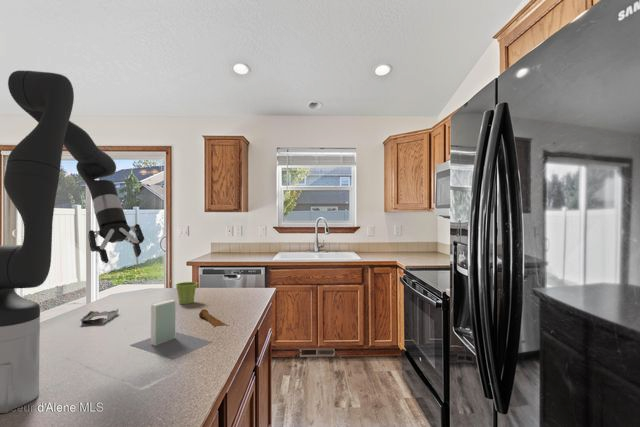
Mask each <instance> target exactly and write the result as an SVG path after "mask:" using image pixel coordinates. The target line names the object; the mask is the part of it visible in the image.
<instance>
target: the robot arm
mask: <svg viewBox="0 0 640 427" xmlns="http://www.w3.org/2000/svg"><path fill="white" fill-rule="evenodd" d="M7 87H8V90H9V91H8V92H9V93H10V96H11V98H12V99H13V100H14V101H15V103H16V104H17V105H18V106H19V107H20V108H21V109H22V110H23V111H24V112H25V113H27V114H28V115H29V116H30V117H31V118H33V119H34V120H35V121H36V122H37V125H36V126H35V127H34V128H33V129H32V130H31V131H30V132H29V133H28V134H27V135H25V137H24V138H23V139H22V140H20V141H19V142H18V143H17V144H16V146H15V147H14V148H13V149H12V150H11V151H10V153H9V155H8V157H7V162H6V164H5V166H6V167H5V172H4V177H3V188H4V189H5V192H6V194H7V196H8V197H9V199H10V201H11V203H13V205H14V207H15V208H16V210H17V211H18V212H17V213H19V216H20V217H21V220H22V222H23V223H22V224H23V241H22V244H17V245H16V244H13V245H11V244H10V245H8V244H6V245H4V244H3V245H1V244H0V414H8V413H9V412H11V411H12V410H14V409H16V408H20V407H23V406H24V405H26V404H29V403H30V402H32V401H33V400H35V399H36V398H37V397H38V396H39V395H40V357H41V356H40V354H41V353H40V352H41V351H40V349H41V348H40V344H41V343H40V340H41V338H40V335H41V332H40V331H41V306H40V303H38V302H36V301H33V300H31V299H27V298H25V297H23V296H20V295H19V294H18V293H17V292H16V290H15V289H31V288H32V289H33V288H37V287H40V286H42V285H43V284H44V283H45V281H46V280H47V278H48V277H49V273H50V269H51V266H52V265H51V263H52V253H53V252H52V248H53V245H52V244H53V222H54V213H55V204H56V198H57V194H58V193H57V192H58V186H59V181H60V174H61V165H62V156H63V150H64V148H65V149H66V150H67V151H68V153H69V154H70V155H71V156H72V158H73V159H74V160H76V161H77V163H76V165H75V166H76V172H78V175H79V176H80V177H81V178H82V180H83V182H85V185H86V186H87V188H88V190H89V192H90V196H91V197H90V198H91V200H92V206H93V211H94V215H95V217H96V221H97V225H98V229H99V230H96V231H95V230H94V229H93V230H92V229H91V230H89V231H88V234H87V236H88V242H89V248H90V251H91V252H98V253H99V257H100V261H101V262H103V263H104V264H108V263H109V262H110V261H109V257H108V253H107V252H108V251H107V249H106V247H107V245H108V243H111V244H115V243H119V242H124V241H125V242H127V243H129V244H131V246H132V248H133V252H134V255H135V258H139V256H141V254H142V249H141V246H140V244H143V242H144V241H145V236H144V234H143V231H142V229H141V226H140V224H137V223H136V224H134V225H129V224H128V221H127V218H126V215H125V211H124V208H123V205H122V202H121V200H120V198H119V195H118V191H117V187H116V185H115V183H114V182H113V181H112V180H108V179H103V178H104V177H106V178H107V177H110V176H112V175H114V174H115V172H116V171H117V165H116V162H115V160H114V159H113V158H112V157H111V156H110V155H109V154H108V153H106V152H105V151H103V150H102V149H100V148H99V147H98V146H97V145H96V143H95V141H94V140H93V139H92V137H91V136H90V135H89V133H88V132H87V131H85V129H83V127H80V125H78V124H76V123H74V122H72V121H71V120H70V119H71V115H72V111H73V106H74V102H75V101H74V99H75V95H74V94H75V93H74V87H73V84H72V82H71V81H70V79H69V78H68V77H67V76H66V75H64V74H62V73H58V72H49V71H39V70H38V71H37V70H21V69H20V70H15V71H13V72H11V73H10V74H9V76H8V80H7ZM130 231H132V233H134V234H135V236H136V237H135V236H134V235H133V234H131V233H130ZM98 236H100V237H101V238H102V239H103V240H102V242H101V244H100V245H97V241H96V240H97V238H98Z"/></svg>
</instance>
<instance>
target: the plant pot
mask: <svg viewBox="0 0 640 427" xmlns="http://www.w3.org/2000/svg"><path fill="white" fill-rule="evenodd" d="M197 285H198V282H197V281H196V282H194V281H184V282H179V283H175V288H176V290H177V298H178V304H180V305H190V304H194V302H195V294H196V289H197Z"/></svg>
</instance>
